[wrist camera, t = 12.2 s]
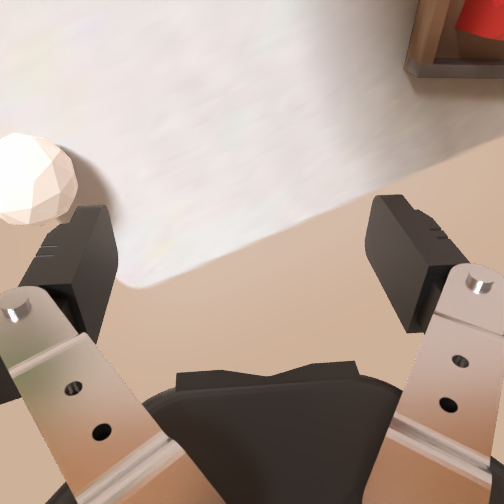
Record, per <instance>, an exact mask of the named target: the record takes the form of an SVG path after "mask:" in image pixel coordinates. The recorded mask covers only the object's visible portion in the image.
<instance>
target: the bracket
mask: <svg viewBox="0 0 504 504" xmlns="http://www.w3.org/2000/svg"><path fill="white" fill-rule="evenodd" d="M455 28H457V29H460V30H463V31H466V32H469V33H472V34H475V35H478V36H481V37H484V38H489V39H495V40H500V41H504V0H465V2H464V5H463V7H462V10H461V13H460V15H459V18H458V20H457V23H456V25H455Z"/></svg>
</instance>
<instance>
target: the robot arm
mask: <svg viewBox="0 0 504 504" xmlns="http://www.w3.org/2000/svg"><path fill="white" fill-rule="evenodd" d="M365 251H366V255H367V258H368V260H369V262H370V264H371V266H372V268H373V269H374V271H375V273H376V275H377V277H378V279H379V281H380V283H381V285H382V287H383V289H384V291H385V292H386V294H387V296H388V298H389V300H390V302H391V304H392V306H393V308H394V310H395V312H396V313H397V315H398V317H399V319H400V321H401V323H402V325H403V327H404V329H405V331H406V333H420V332H423V333H424V335H425V336H424V339H423V341H422V344H421V346H420V349H419V352H418V354H417V357H416V360H415V362H414V365H413V367H412V369H411V372H410V375H409V377H408V380H407V382H406V385H405V387H404V390H403V391H402V390H400V389H399V388H397V387H395V386H393V385H391V384H389V383H387V382H384V381H381V380H379V379H376V378H372V377H368V376H365V375H360V374H359V372H358V369H357V366H356V364H355V361H345V362H330V363H315V364H309V365H306V366H303V367H299V368H296V369H293V370H290V371H287V372H283V373H280V374H276V375H273V376H259V375H252V374H245V373H239V372H232V371H225V370H213V371H198V372H184V373H177V375H176V387H175V388H172V389H168V390H166V391H164V392H161V393H159V394H157V395H155V396H153V397H151V398H149V399H148V400H146V401H145V402H143V403H142V404H141V402H140V401H139V400H138V399H137V397H136V396H135V395H134V393H133V392H132V391H131V390H130V388H129V387H128V386H127V385H126V383H125V382H124V381H123V379H122V378H121V377H120V376H119V374H118V373H117V372H116V370H115V369H114V368H113V367H112V365H111V364H110V363H109V361H108V360H107V359H106V358H105V356H104V355H103V354H102V353H101V351H100V350H99V349H98V347H97V346H96V343H97V340H98V336H99V333H100V329H101V325H102V322H103V318H104V315H105V311H106V308H107V304H108V301H109V297H110V294H111V290H112V286H113V283H114V279H115V276H116V272H117V268H118V251H117V246H116V242H115V238H114V233H113V229H112V225H111V220H110V216H109V212H108V209H107V207H106V206H105V205H99V206H78V207H77V209H76V211H75V213H74V215H73V217H72V219H71V221H70V223H69V224H60V225H58V226H57V227H56V228H55V229H53V230H52V231H51V232H50V233H48V234H47V236H46V238H45V239H44V241H43V243H42V245H41V248H39V250H38V252H37V254H36V258H34V259H33V261H32V262H31V264H30V266H29V268H28V270H27V272H26V273H25V275H24V277H23V279H22V280H21V282H20V284H19V286H18V287H17V288H14V289H10V290H8V291H5V292H3V293H1V294H0V404H3V403H6V402H9V401H12V400H15V399H18V398H21V397H22V398H23V400H24V402H25V404H26V406H27V408H28V410H29V411H30V413H31V415H32V417H33V419H34V421H35V423H36V425H37V427H38V429H39V431H40V432H41V434H42V436H43V438H44V440H45V442H46V444H47V446H48V448H49V449H50V451H51V453H52V455H53V457H54V459H55V461H56V463H57V465H58V467H59V469H60V471H61V473H62V474H63V476H64V478H65V480H66V482H65V483H64V484H63V485H62V486H61V487H60V488H59V489H58V491H57V492H56V493H55V494H54V495H53V496H52V497H51V498H50V499H49V500H48V501H47V502H46V503H45V504H504V465H503V464H501V463H500V462H499V461H497V460H496V459H495V458H493V457H492V456H491V451H492V445H493V439H494V433H495V427H496V421H497V415H498V408H499V402H500V396H501V390H502V384H503V378H504V276H503V275H502V274H500V273H499V272H497V271H495V270H493V269H491V268H488V267H486V266H483V265H479V264H472V263H470V262H469V261H468V260H467V259H466V257H465V256H464V255H463V254H462V253H461V251H460V250H459V249H458V248H457V247H456V246H455V244H454V243H453V242H452V241H451V240H450V239H448V236H447V235H446V234H445V233H444V231H442V230H441V228H440V227H439V225H438V224H437V223H436V222H435V221H434V219H433V218H431V217H430V216H428V215H426V214H425V213H423V212H421V211H420V210H414V209H413V208H412V207H411V205H410V204H409V203H408V201H407V200H406V199H405V198H404V196H403V195H377V196H375V198H374V200H373V203H372V207H371V212H370V217H369V222H368V227H367V232H366V237H365Z"/></svg>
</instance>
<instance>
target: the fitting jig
mask: <svg viewBox="0 0 504 504" xmlns="http://www.w3.org/2000/svg"><path fill="white" fill-rule="evenodd" d="M464 2H465V0H419V4H418V8H417V12H416V17H415V21H414V25H413V30H412V34H411V38H410V43H409V47H408V51H407V55H406V60H405V64H404V68H403V69H405V70H406V71H408V72H409V73H411V74H413V75H414V76H416V77H417V78H504V41H500V40H495V39H489V38H484V37H481V36H478V35H475V34H472V33H469V32H466V31H463V30H460V29H457V28H455V25H456V23H457V20H458V18H459V15H460V13H461V10H462V7H463V5H464Z"/></svg>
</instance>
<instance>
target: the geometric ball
mask: <svg viewBox="0 0 504 504" xmlns="http://www.w3.org/2000/svg"><path fill="white" fill-rule="evenodd" d="M77 189H78V183H77V179H76V176H75V172H74V168H73V164H72V161H71V158H69V157H68V156H67V155H66V154H65V153H64V152H63V151H62V150H61V149H60V148H58V147H57V146H56V145H55V144H54V143H52V142H51V141H50V140H49V139H48V138H43V137H37V136H31V135H25V134H19V133H12V134H10V135H8V136H6V137H4V138H1V139H0V218H2V219H3V220H5V221H6V222H7V223H9V224H16V225H32V226H43V225H45V224H47V223H48V222H50V221H52V220H54V219H56V218H57V217H59V216H61V215H63V214H64V213H66V212H68V210H69V208H70V206H71V204H72V203H73V201H74V199H75V196H76V192H77Z"/></svg>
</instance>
